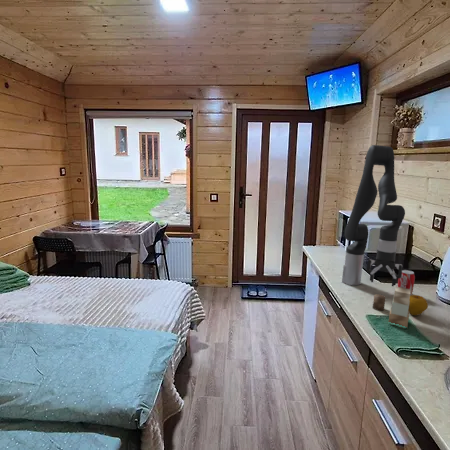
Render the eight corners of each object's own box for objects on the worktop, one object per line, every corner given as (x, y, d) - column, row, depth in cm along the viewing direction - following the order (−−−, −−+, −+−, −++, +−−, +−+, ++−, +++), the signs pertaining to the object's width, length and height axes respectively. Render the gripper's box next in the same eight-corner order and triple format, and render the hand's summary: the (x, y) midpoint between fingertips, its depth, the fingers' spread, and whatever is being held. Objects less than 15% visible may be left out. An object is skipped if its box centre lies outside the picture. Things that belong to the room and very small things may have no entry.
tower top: (393, 302, 135) (394, 290, 134) (394, 297, 139) (396, 286, 138) (408, 305, 132) (410, 294, 131) (409, 300, 137) (410, 289, 135)
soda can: (414, 297, 164) (417, 274, 161) (399, 295, 165) (402, 273, 162) (409, 291, 170) (412, 270, 168) (394, 290, 172) (397, 268, 169)
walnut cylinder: (371, 309, 150) (373, 297, 149) (373, 305, 154) (375, 293, 153) (383, 311, 147) (385, 299, 146) (384, 307, 151) (386, 295, 150)
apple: (425, 321, 140) (429, 302, 138) (402, 315, 144) (405, 296, 142) (426, 313, 147) (429, 294, 145) (403, 307, 152) (406, 290, 150)
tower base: (388, 324, 137) (389, 313, 136) (389, 317, 143) (391, 307, 141) (406, 329, 133) (408, 318, 132) (407, 322, 139) (409, 311, 138)
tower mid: (390, 313, 136) (392, 302, 135) (392, 307, 141) (393, 297, 140) (407, 317, 133) (408, 306, 132) (408, 311, 138) (409, 300, 137)
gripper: (368, 248, 145) (364, 283, 148) (404, 254, 138) (399, 290, 141) (370, 245, 151) (366, 278, 155) (405, 250, 144) (400, 284, 147)
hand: (382, 283), depth 148 cm, fingers open, 8 cm apart
